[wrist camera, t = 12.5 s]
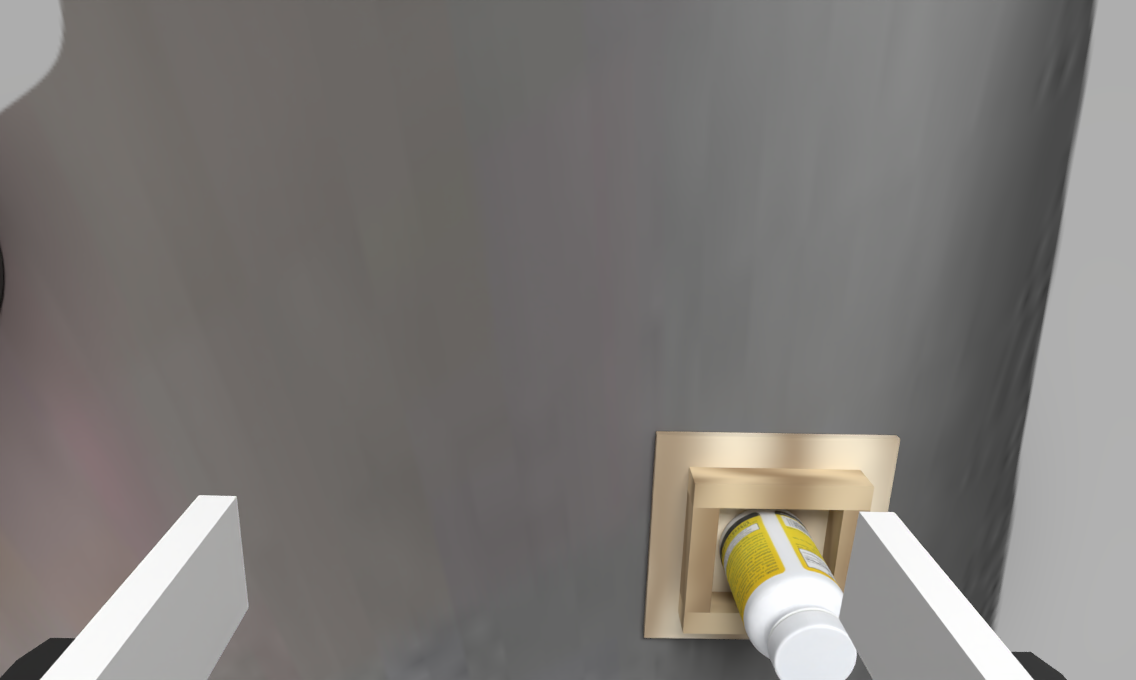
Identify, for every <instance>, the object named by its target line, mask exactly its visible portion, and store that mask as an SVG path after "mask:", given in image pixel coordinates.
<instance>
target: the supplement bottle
mask: <svg viewBox="0 0 1136 680" xmlns="http://www.w3.org/2000/svg"><path fill="white" fill-rule="evenodd" d="M719 554H720V558H721V563H722V566H723V569H724V572H725V575H726V577H727V580H728V583H729V586H730V588H731V591H732V594H733V597H734V599H735V602H736V605H737V608H738V611H739V614H740V616H741V619H742V622H743V625H744V628H745V630H746V633H747V635H748V637H749V639H750V641H751V642H752V644H753V645H754V647H755V648H756V649H757V650H758V651H759V652H760V653H762V654H763V655H764V656H766V657H767V658H769V659H770V660H771V662H772V664H773V667H774V669H775V672H776V674H777V676H778V677H779V678H780V680H845V679H846V678H847V677H848V676H849V674H850V673H851V672H852V670H853V668H854V665H855V663H856V655H857V654H856V648H855V647H854V645H853V643H852V641H851V639H850V638H849V636H848V634H847V632H846V630H845V629H844V627H843V625H842V623H841V622H840V620H839V614H840V609H841V603H842V598H843V592H842V590H841V589H840V587H839V585H838V583H837V582H836V580H835V578H834V577H833V575H832V573H831V571H830V570H829V568H828V566H827V564H826V563H825V561H824V559H823V557H822V556H821V554H820V552H819V550H818V549H817V547H816V545H815V543H814V542H813V540H812V538H811V536H810V535H809V533H808V531H807V529H806V528H805V526H804V525H803V524H802V522H801V521H800V520H799V519H798V518H797V517H796V516H795V515H793V514H792V513H790V512H789V511H787V510H785V509H749V510H746V511H744V512H742V513H740V514H739V515H737V516H736V517H735V518H733V519H732V520H731V521H730V522H729V523H728V525H727V526H726V528H725V529H724V531H723V533H722V535H721V538H720V543H719Z"/></svg>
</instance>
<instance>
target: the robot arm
mask: <svg viewBox="0 0 1136 680" xmlns="http://www.w3.org/2000/svg"><path fill="white" fill-rule="evenodd" d="M2 290H3V265H2V257H1V252H0V302H1V297H2ZM248 608H249V606H248V597H247V587H246V578H245V569H244V560H243V550H242V541H241V532H240V522H239V513H238V504H237V496H206V495H199V496H198V497H197V498H196V499H195V501H194V502H193V503H192V504H191V505H190V506H189V507H188V509H187V510H186V511H185V512H184V513H183V514H182V516H181V517H180V518H179V519H178V520H177V521H176V523H175V524H174V525H173V526H172V527H171V528H170V530H169V531H168V532H167V533H166V534H165V535H164V536H163V538H162V539H161V540H160V541H159V542H158V543H157V545H156V546H155V547H154V548H153V549H152V550H151V552H150V553H149V554H148V555H147V556H146V557H145V559H144V560H143V561H142V562H141V563H140V564H139V565H138V567H137V568H136V569H135V570H134V571H133V572H132V574H131V575H130V576H129V577H128V578H127V579H126V581H125V582H124V583H123V584H122V585H121V586H120V588H119V589H118V590H117V591H116V592H115V593H114V594H113V596H112V597H111V598H110V599H109V600H108V601H107V603H106V604H105V605H104V606H103V607H102V608H101V610H100V611H99V612H98V613H97V614H96V615H95V616H94V618H93V619H92V620H91V621H90V622H89V623H88V625H87V626H86V627H85V628H84V629H83V630H82V632H81V633H80V634H79V635H78V636H77V637H76V638H50V639H48V640H47V641H45V642H44V643H42V644H41V645H39V646H38V647H36V648H35V649H33V650H32V651H30V652H28V653H27V654H25V655H24V656H22V657H21V658H19V659H18V660H16V662H15V663H14V664H13V665H12V666H11V667H10V668H9V669H8V670H7V671H6V672H5V673H4V674H3V676H2V677H1V678H0V680H207V679H208V677H209V675H210V674H211V672H212V670H213V668H214V667H215V665H216V663H217V661H218V660H219V658H220V656H221V655H222V653H223V651H224V649H225V648H226V646H227V644H228V642H229V641H230V639H231V637H232V635H233V634H234V632H235V630H236V629H237V627H238V625H239V623H240V622H241V620H242V618H243V616H244V615H245V613H246V611H247V609H248ZM839 620H840V622H841V623H842V625H843V627H844V629H845V630H846V632H847V634H848V636H849V638H850V639H851V641H852V643H853V645H854V647H855V648H856V650H857V652H858V654H859V656H860V657H861V659H862V661H863V663H864V664H865V666H866V668H867V670H868V672H869V673H870V675H871V677H872V679H873V680H1067V679H1066V678H1065V677H1064V676H1063V675H1062V674H1061V673H1059V672H1058V671H1057V670H1055V669H1054V668H1052V667H1051V666H1050V665H1048V664H1047V663H1045V662H1044V661H1043V660H1041V659H1040V658H1038V657H1037V656H1035V655H1034V654H1033V653H1031V652H1010V651H1009V649H1008V648H1007V647H1006V646H1005V645H1004V643H1003V642H1002V641H1001V640H1000V639H999V637H998V636H997V635H996V634H995V633H994V631H993V630H992V629H991V628H990V627H989V625H988V624H987V623H986V622H985V621H984V619H983V618H982V617H981V616H980V615H979V613H978V612H977V611H976V610H975V609H974V607H973V606H972V605H971V604H970V603H969V601H968V600H967V599H966V598H965V597H964V595H963V594H962V593H961V592H960V591H959V589H958V588H957V587H956V586H955V585H954V583H953V582H952V581H951V580H950V579H949V577H948V576H947V575H946V574H945V573H944V571H943V570H942V569H941V568H940V567H939V565H938V564H937V563H936V562H935V561H934V559H933V558H932V557H931V556H930V555H929V553H928V552H927V551H926V550H925V549H924V547H923V546H922V545H921V544H920V543H919V541H918V540H917V539H916V538H915V537H914V535H913V534H912V533H911V532H910V531H909V529H908V528H907V527H906V526H905V525H904V524H903V522H902V521H901V520H900V519H899V518H898V516H897V515H896V514H895V513H894V512H859V515H858V520H857V526H856V531H855V536H854V541H853V546H852V552H851V557H850V562H849V567H848V572H847V577H846V583H845V588H844V593H843V598H842V603H841V609H840V614H839Z"/></svg>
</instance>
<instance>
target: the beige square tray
mask: <svg viewBox="0 0 1136 680" xmlns="http://www.w3.org/2000/svg"><path fill="white" fill-rule="evenodd" d="M899 443H900V438H899V437H898V436H897V435H841V434H783V433H725V432H667V431H656V440H655V456H654V472H653V488H652V504H651V520H650V536H649V552H648V568H647V584H646V600H645V617H644V638H696V639H749V637H748V635H747V633H746V630H745V628H744V625H743V622H742V619H741V616H740V614H739V611H738V608H737V605H736V602H735V599H734V597H733V594H732V591H731V588H730V586H729V583H728V580H727V577H726V575H725V572H724V569H723V566H722V563H721V558H720V554H719V543H720V538H721V535H722V533H723V531H724V529H725V528H726V526H727V525H728V523H729V522H730V521H731V520H732V519H733V518H735V517H736V516H737V515H739V514H740V513H742V512H744V511H746V510H749V509H785V510H787V511H789V512H790V513H792V514H793V515H795V516H796V517H797V518H798V519H799V520H800V521H801V522H802V524H803V525H804V526H805V528H806V529H807V531H808V533H809V535H810V536H811V538H812V540H813V542H814V543H815V545H816V547H817V549H818V550H819V552H820V554H821V556H822V557H823V559H824V561H825V563H826V564H827V566H828V568H829V570H830V571H831V573H832V575H833V577H834V578H835V580H836V582H837V583H838V585H839V587H840V589H841V590H842V592H843V593H844V588H845V583H846V577H847V572H848V567H849V562H850V557H851V552H852V546H853V541H854V536H855V531H856V526H857V520H858V515H859V512H888V507H889V501H890V496H891V490H892V484H893V478H894V472H895V467H896V461H897V455H898V449H899Z"/></svg>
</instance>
